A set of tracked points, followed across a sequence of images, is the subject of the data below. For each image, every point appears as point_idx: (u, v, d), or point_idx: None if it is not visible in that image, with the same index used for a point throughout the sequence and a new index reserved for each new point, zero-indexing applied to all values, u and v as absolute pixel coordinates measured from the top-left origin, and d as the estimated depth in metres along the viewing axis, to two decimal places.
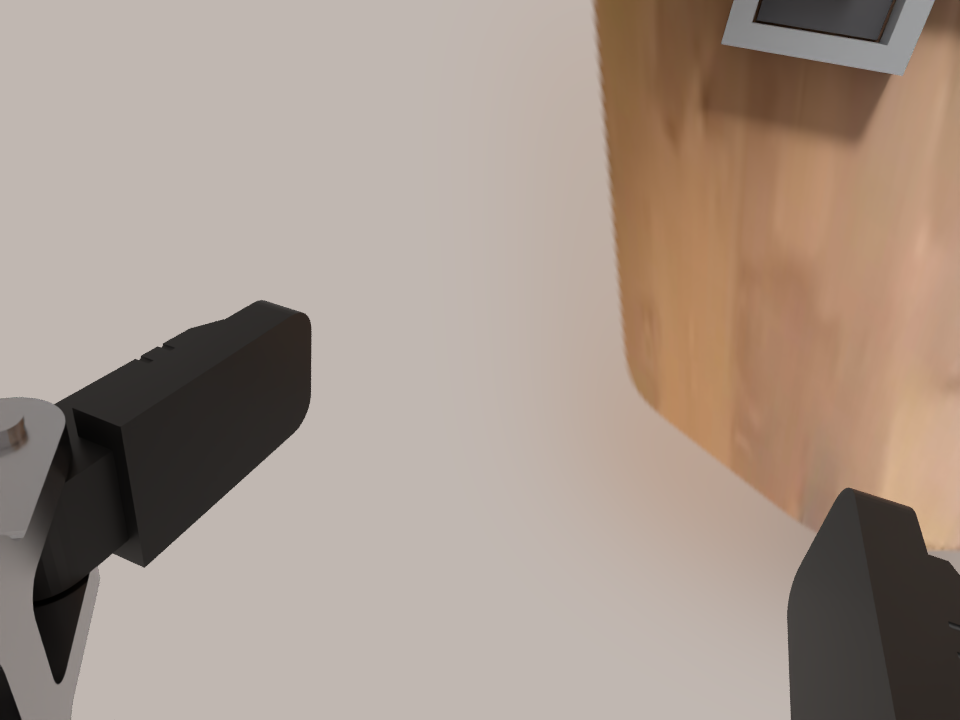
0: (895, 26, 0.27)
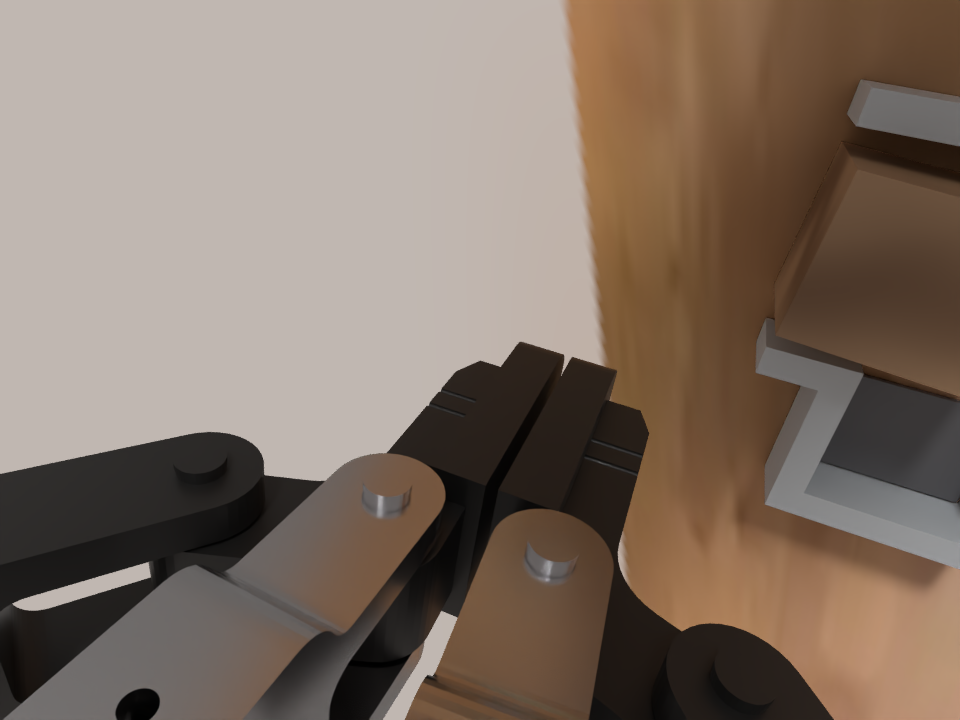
0: None
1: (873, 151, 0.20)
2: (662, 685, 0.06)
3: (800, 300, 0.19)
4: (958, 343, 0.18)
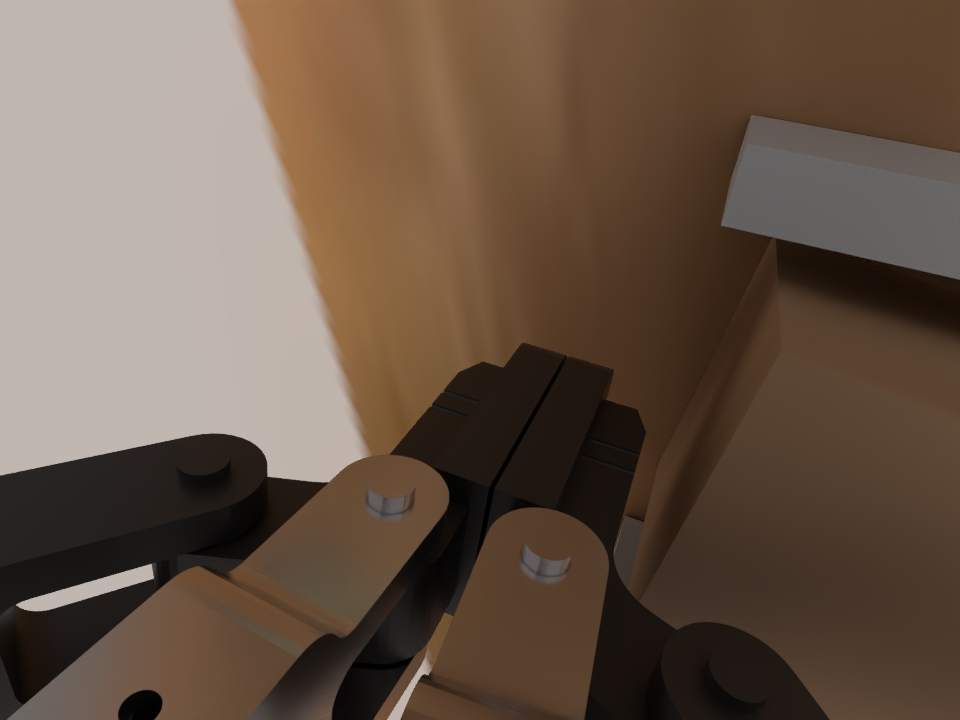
0: None
1: (835, 259, 0.10)
2: (657, 683, 0.06)
3: (661, 593, 0.09)
4: None
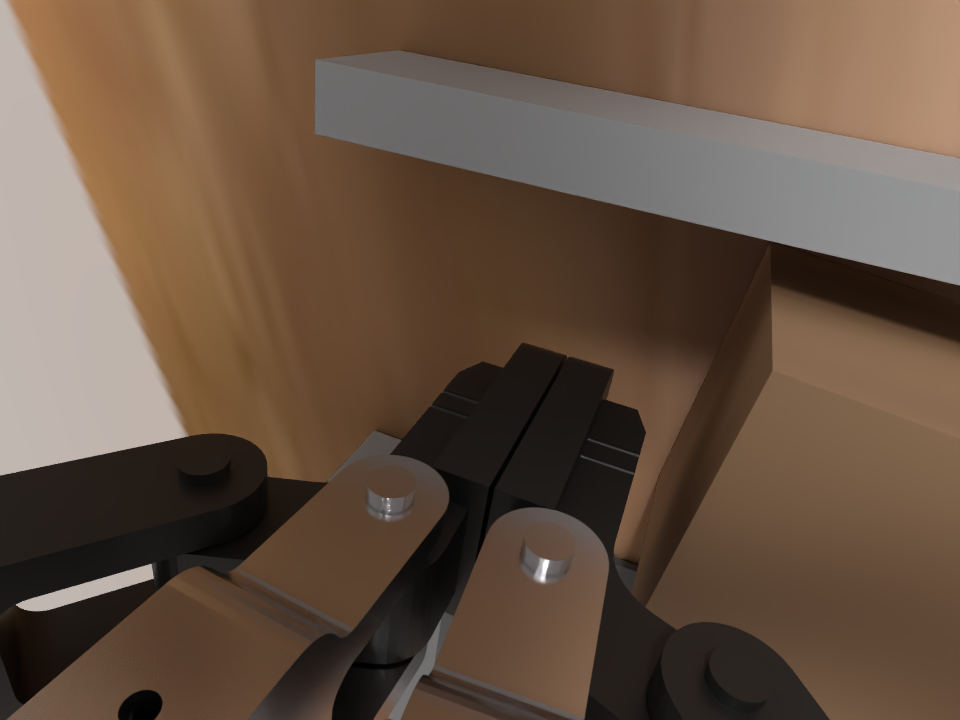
0: None
1: (831, 271, 0.10)
2: (657, 684, 0.06)
3: (659, 610, 0.09)
4: None
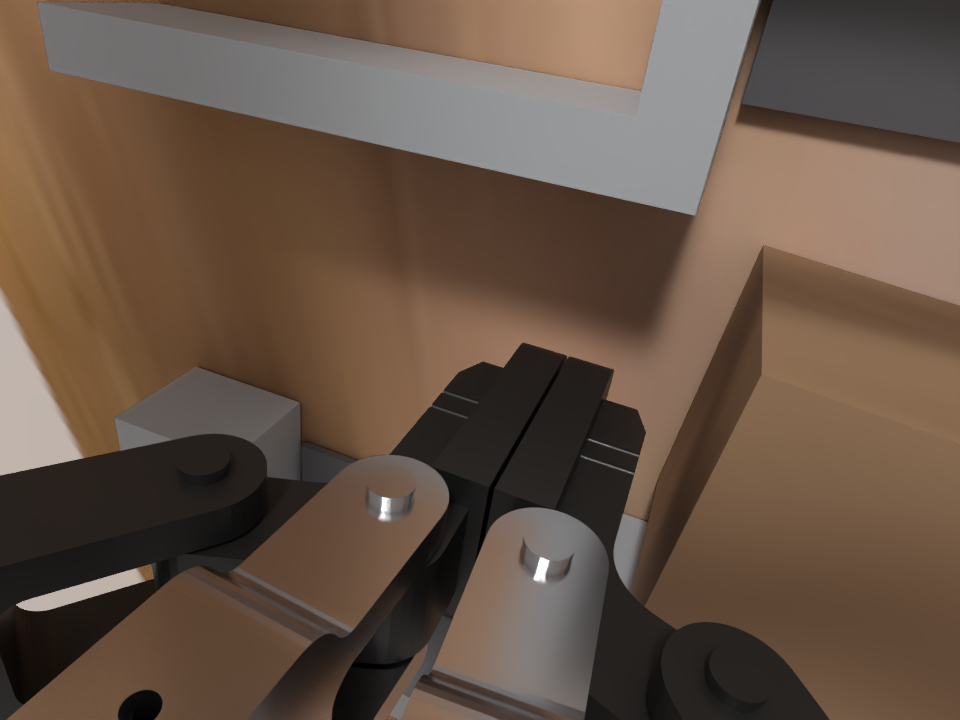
0: None
1: (824, 274, 0.10)
2: (657, 683, 0.06)
3: (656, 613, 0.09)
4: None
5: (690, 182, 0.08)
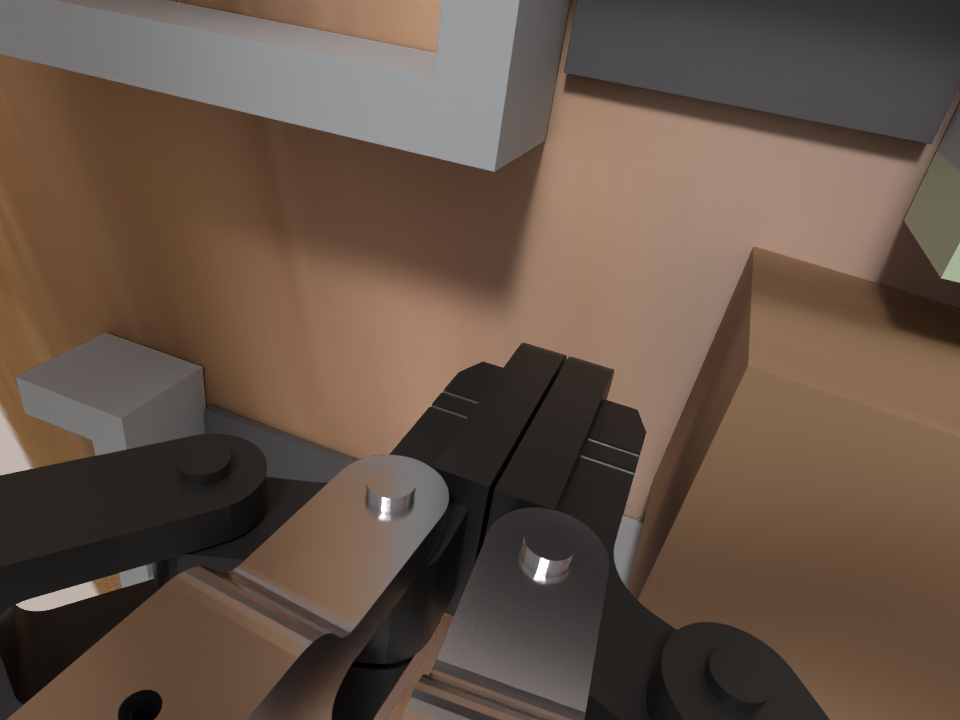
0: None
1: (812, 270, 0.10)
2: (657, 683, 0.06)
3: (652, 601, 0.09)
4: None
5: (486, 139, 0.09)
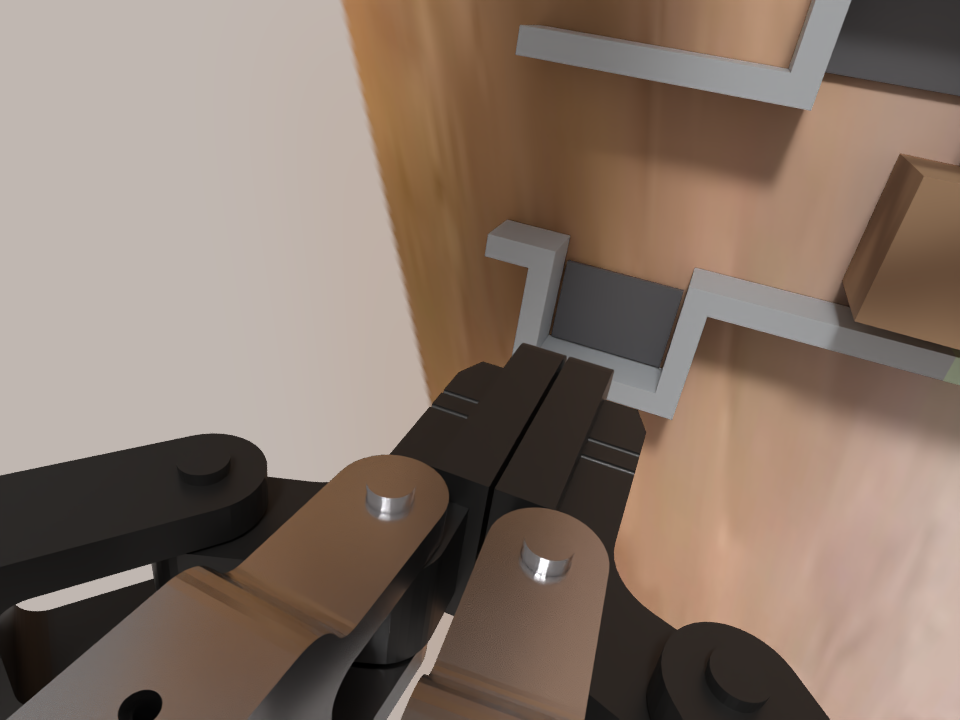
0: (660, 378, 0.28)
1: (929, 160, 0.24)
2: (657, 683, 0.06)
3: (876, 289, 0.22)
4: None
5: (810, 97, 0.22)
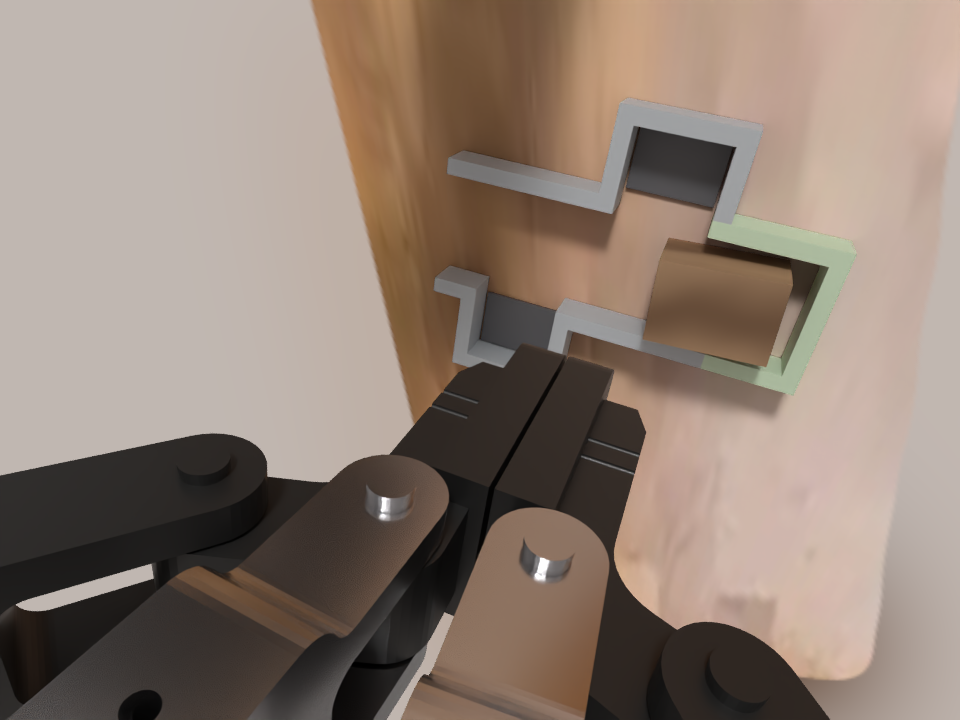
0: None
1: (683, 242, 0.40)
2: (657, 683, 0.06)
3: (649, 321, 0.39)
4: (723, 333, 0.38)
5: (610, 207, 0.39)
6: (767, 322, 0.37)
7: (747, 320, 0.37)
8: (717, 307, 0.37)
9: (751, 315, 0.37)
